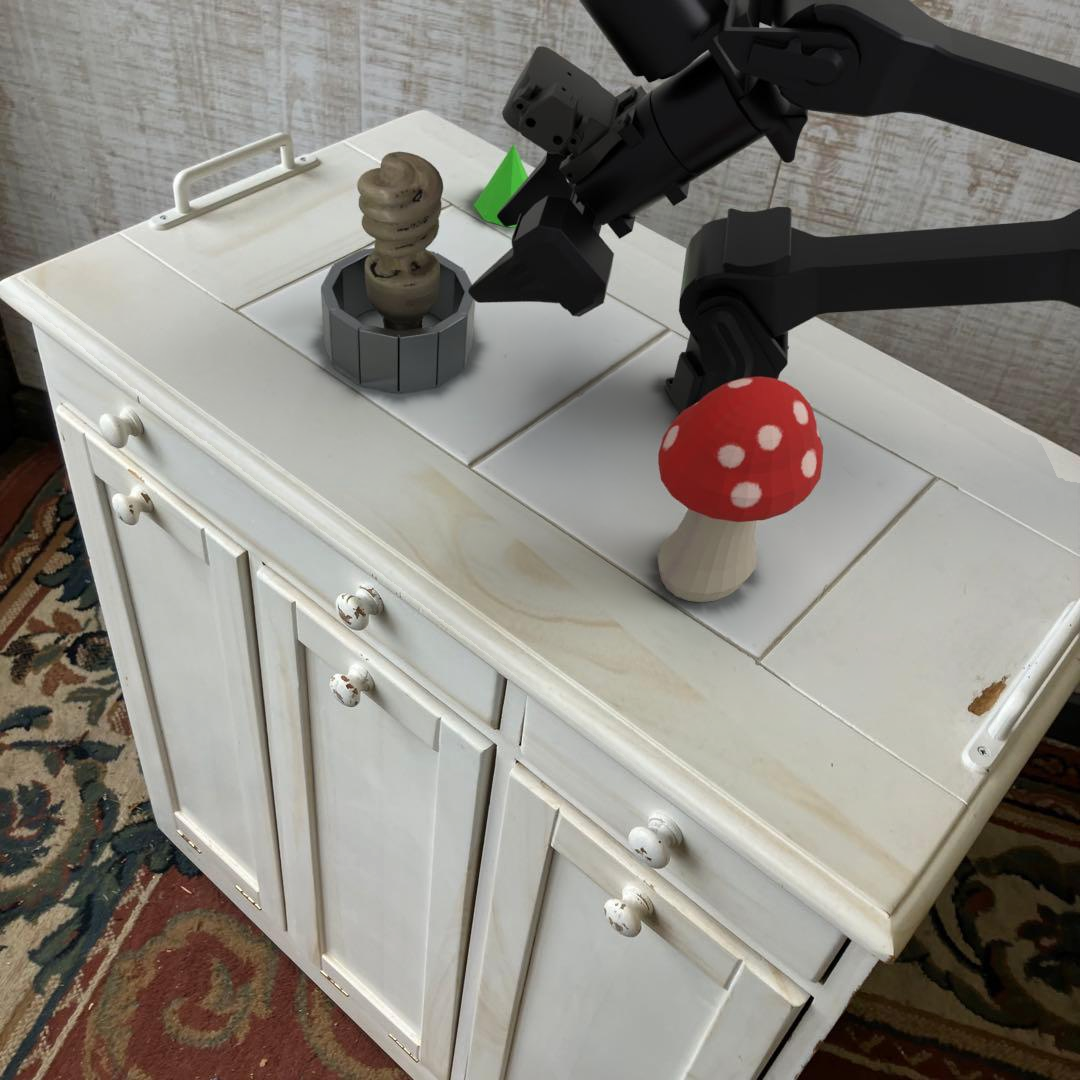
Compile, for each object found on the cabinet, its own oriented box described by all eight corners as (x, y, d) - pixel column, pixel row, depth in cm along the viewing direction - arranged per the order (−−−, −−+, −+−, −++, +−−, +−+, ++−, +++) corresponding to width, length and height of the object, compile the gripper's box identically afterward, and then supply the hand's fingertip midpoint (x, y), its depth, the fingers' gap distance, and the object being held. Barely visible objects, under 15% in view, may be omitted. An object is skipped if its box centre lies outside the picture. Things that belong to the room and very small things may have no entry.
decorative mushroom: (719, 500, 74) (777, 320, 62) (805, 586, 69) (885, 410, 58) (601, 554, 69) (640, 373, 58) (686, 651, 65) (746, 474, 54)
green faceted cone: (543, 229, 93) (551, 165, 88) (473, 225, 92) (477, 160, 88) (541, 191, 97) (548, 128, 92) (473, 186, 96) (477, 123, 92)
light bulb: (401, 380, 78) (401, 194, 67) (346, 345, 80) (338, 159, 69) (452, 345, 82) (461, 161, 70) (398, 312, 83) (399, 129, 72)
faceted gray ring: (447, 293, 86) (449, 238, 82) (488, 380, 79) (493, 325, 76) (312, 311, 83) (308, 255, 79) (344, 402, 76) (341, 346, 72)
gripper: (618, -43, 67) (440, 98, 76) (570, 95, 55) (364, 244, 64) (716, 101, 73) (540, 217, 82) (693, 256, 60) (488, 373, 69)
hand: (487, 256), depth 74 cm, fingers open, 9 cm apart
